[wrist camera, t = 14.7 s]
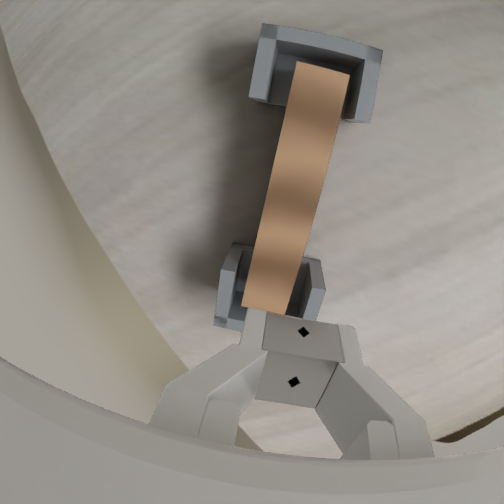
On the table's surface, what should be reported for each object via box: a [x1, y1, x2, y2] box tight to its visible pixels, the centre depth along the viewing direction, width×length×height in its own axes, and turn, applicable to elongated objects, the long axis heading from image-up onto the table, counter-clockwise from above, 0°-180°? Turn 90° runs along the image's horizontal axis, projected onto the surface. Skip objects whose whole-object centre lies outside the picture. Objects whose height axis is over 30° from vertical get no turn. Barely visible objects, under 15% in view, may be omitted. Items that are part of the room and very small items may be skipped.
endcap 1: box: [248, 23, 383, 123], centre depth 22 cm, size 6×9×6 cm, turn 80°
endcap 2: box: [213, 243, 326, 331], centre depth 30 cm, size 6×9×6 cm, turn 80°
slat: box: [241, 61, 350, 315], centre depth 26 cm, size 21×4×4 cm, turn 168°
